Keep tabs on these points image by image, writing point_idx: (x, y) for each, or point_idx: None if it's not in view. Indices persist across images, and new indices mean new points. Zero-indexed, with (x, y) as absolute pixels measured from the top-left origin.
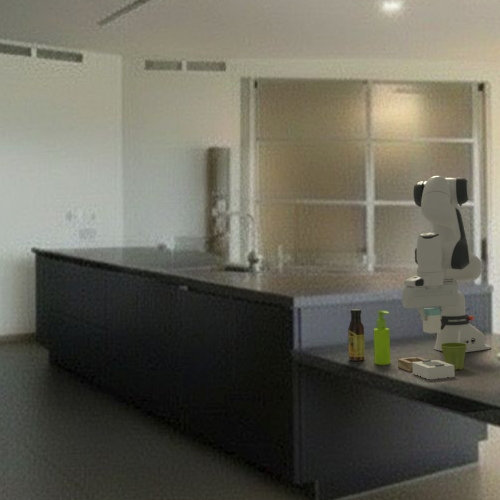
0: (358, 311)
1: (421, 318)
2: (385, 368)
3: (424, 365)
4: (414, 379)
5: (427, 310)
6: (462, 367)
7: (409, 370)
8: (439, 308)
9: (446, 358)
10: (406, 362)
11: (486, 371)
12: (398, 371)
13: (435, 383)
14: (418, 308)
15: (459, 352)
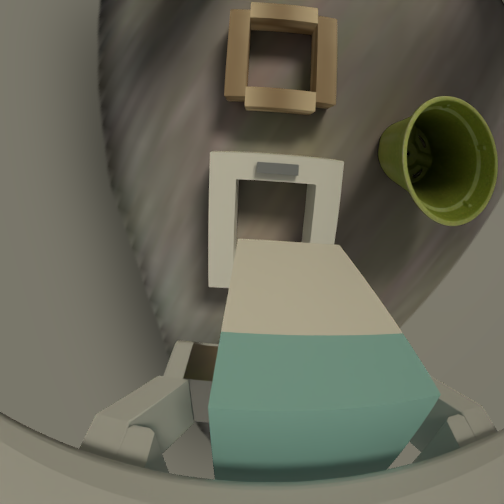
0: None
1: (173, 355)
2: (179, 23)
3: (220, 241)
4: (175, 242)
5: (216, 479)
6: (419, 183)
7: (232, 100)
8: (427, 453)
9: (390, 156)
10: (225, 79)
11: (444, 248)
12: (191, 88)
13: (209, 319)
14: (91, 451)
15: (434, 207)
